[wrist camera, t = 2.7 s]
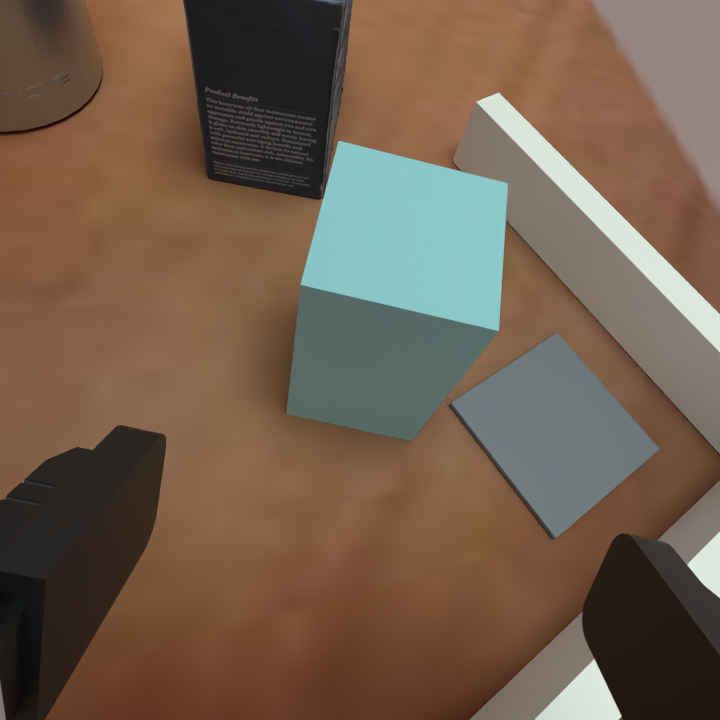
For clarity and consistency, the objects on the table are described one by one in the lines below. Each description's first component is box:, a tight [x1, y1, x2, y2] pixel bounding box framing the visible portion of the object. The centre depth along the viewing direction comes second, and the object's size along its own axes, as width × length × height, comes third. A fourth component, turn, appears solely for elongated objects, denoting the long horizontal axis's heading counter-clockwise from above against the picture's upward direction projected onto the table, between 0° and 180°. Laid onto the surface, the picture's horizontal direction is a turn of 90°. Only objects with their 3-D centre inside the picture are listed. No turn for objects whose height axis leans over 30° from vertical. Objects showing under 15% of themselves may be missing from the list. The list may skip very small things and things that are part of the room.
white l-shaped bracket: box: [449, 93, 720, 720], centre depth 24 cm, size 23×21×4 cm
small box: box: [183, 0, 353, 199], centre depth 26 cm, size 11×6×10 cm, turn 175°
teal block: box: [286, 141, 508, 441], centre depth 21 cm, size 6×6×10 cm
